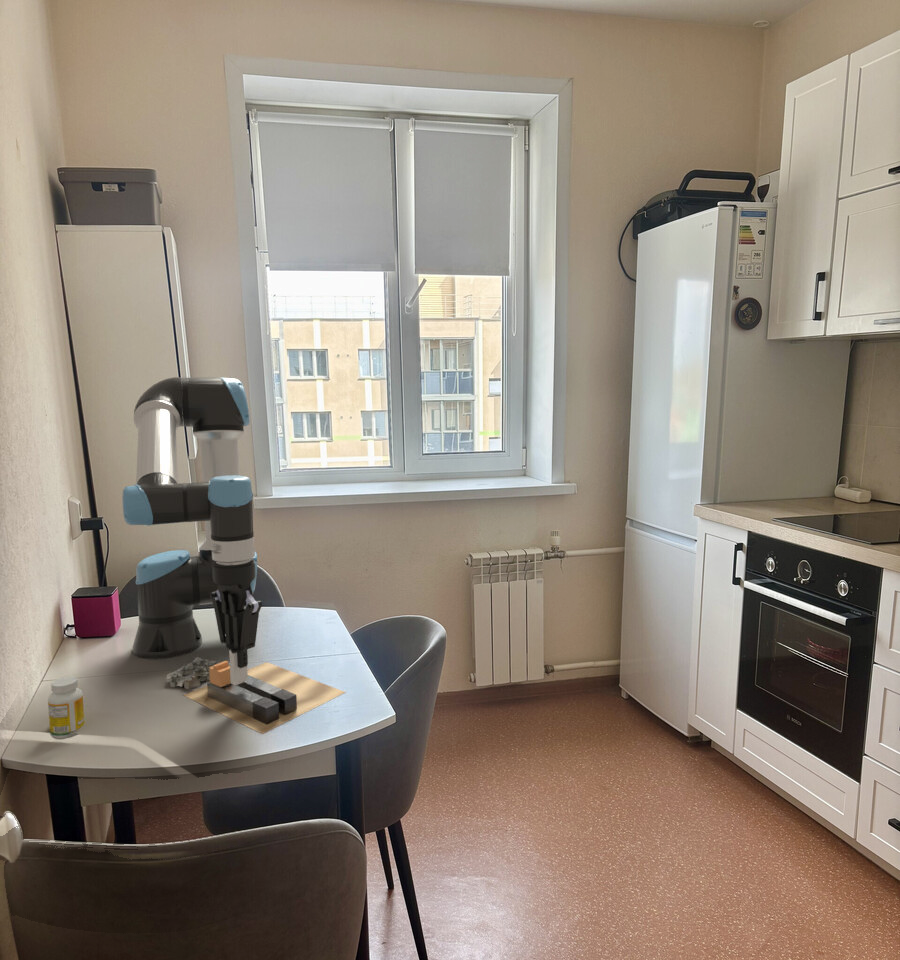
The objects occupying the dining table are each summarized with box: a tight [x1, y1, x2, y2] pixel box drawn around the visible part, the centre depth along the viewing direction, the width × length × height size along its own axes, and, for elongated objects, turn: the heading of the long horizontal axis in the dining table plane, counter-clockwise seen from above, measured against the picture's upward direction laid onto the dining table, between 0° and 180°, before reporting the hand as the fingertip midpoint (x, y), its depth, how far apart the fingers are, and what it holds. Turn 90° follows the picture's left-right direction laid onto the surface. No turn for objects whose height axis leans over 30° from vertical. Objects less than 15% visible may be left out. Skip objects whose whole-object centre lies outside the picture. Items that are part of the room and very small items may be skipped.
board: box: [182, 661, 346, 735], centre depth 128 cm, size 25×20×1 cm
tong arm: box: [237, 675, 297, 715], centre depth 125 cm, size 18×3×3 cm, turn 52°
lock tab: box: [208, 660, 231, 687], centre depth 125 cm, size 4×3×4 cm
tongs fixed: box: [206, 666, 279, 725], centre depth 123 cm, size 22×5×4 cm, turn 53°
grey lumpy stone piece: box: [165, 656, 219, 690], centre depth 135 cm, size 11×8×4 cm
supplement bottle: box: [47, 676, 85, 740], centre depth 115 cm, size 5×5×10 cm
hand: (239, 681), depth 122 cm, fingers closed
